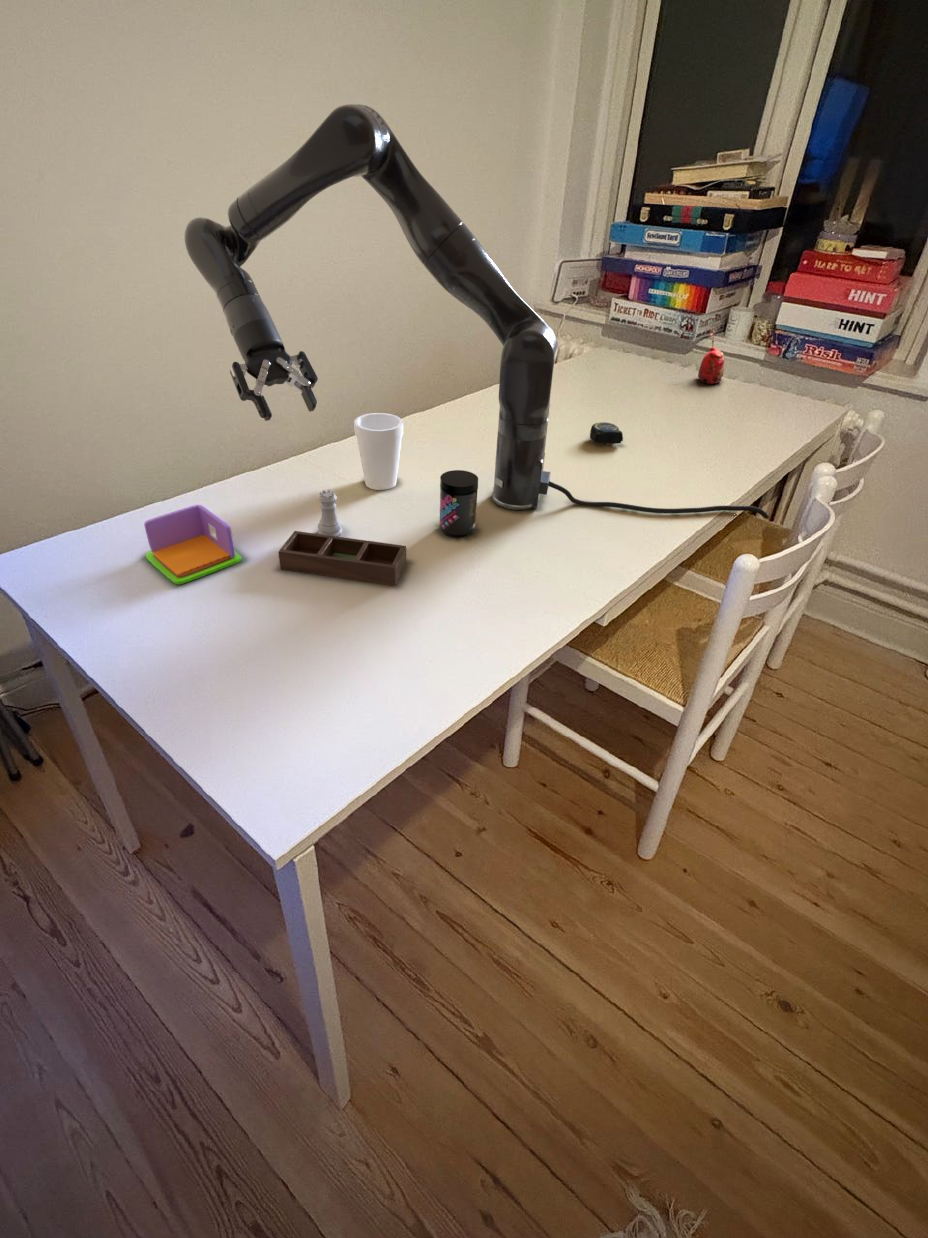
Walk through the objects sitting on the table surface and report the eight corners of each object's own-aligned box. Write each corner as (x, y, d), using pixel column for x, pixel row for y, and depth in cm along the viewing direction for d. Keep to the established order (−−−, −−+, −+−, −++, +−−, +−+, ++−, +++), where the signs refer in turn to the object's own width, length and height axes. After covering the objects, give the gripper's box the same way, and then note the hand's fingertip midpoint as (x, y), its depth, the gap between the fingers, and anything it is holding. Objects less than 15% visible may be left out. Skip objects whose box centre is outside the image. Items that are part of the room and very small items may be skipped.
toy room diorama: (209, 533, 123) (202, 498, 119) (244, 560, 117) (238, 524, 112) (143, 556, 116) (133, 520, 112) (176, 586, 110) (167, 549, 105)
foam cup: (396, 496, 138) (394, 433, 130) (351, 490, 139) (347, 427, 131) (408, 476, 145) (408, 415, 137) (366, 470, 146) (363, 410, 139)
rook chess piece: (347, 529, 126) (344, 489, 121) (335, 541, 123) (332, 500, 118) (325, 525, 127) (321, 485, 123) (313, 536, 124) (309, 495, 119)
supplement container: (440, 519, 131) (442, 468, 124) (476, 522, 130) (479, 471, 124) (437, 537, 125) (438, 485, 119) (474, 540, 125) (477, 488, 119)
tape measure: (593, 447, 162) (596, 432, 159) (585, 436, 167) (588, 421, 165) (621, 447, 162) (624, 432, 160) (612, 436, 168) (615, 421, 166)
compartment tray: (296, 548, 120) (294, 530, 118) (406, 563, 118) (406, 545, 116) (280, 569, 115) (278, 551, 113) (395, 586, 112) (395, 567, 110)
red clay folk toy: (716, 386, 202) (730, 332, 193) (692, 381, 205) (705, 328, 196) (723, 380, 207) (737, 327, 198) (700, 375, 210) (713, 323, 201)
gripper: (218, 322, 115) (258, 411, 115) (295, 312, 122) (333, 395, 122) (210, 347, 121) (249, 431, 121) (284, 336, 129) (320, 415, 129)
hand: (291, 413), depth 122 cm, fingers open, 8 cm apart
